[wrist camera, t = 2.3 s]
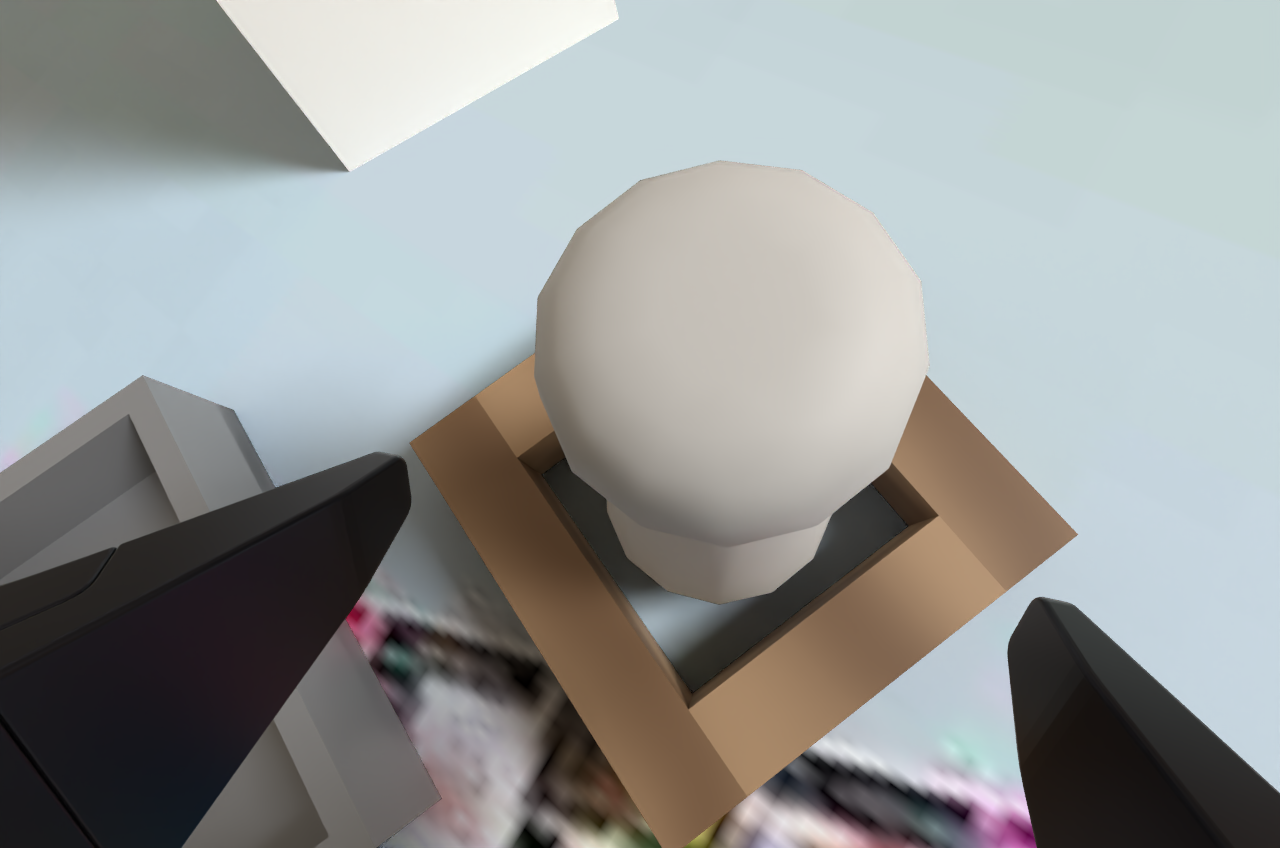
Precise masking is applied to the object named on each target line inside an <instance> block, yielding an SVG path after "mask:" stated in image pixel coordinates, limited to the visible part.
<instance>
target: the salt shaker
mask: <svg viewBox="0 0 1280 848" xmlns="http://www.w3.org/2000/svg"><path fill="white" fill-rule="evenodd" d="M929 366H930V364H929V354H928V344H927V334H926V324H925V314H924V304H923V294H922V284H921V280H920V279H919V277H918V276H917V274H916V273H915V272H914V270H913V269H912V267H911V266H910V265H909V263H908V262H907V260H906V259H905V257H904V256H903V255H902V253H901V252H900V250H899V249H898V247H897V246H896V245H895V243H894V242H893V240H892V239H891V237H890V236H889V235H888V233H887V232H886V230H885V229H884V228H883V226H882V225H881V223H880V222H879V220H878V219H877V218H876V216H875V215H874V213H873V212H871V211H869V210H868V209H866V208H864V207H863V206H861V205H859V204H858V203H856V202H854V201H853V200H851V199H849V198H848V197H846V196H844V195H843V194H841V193H839V192H838V191H836V190H834V189H833V188H831V187H829V186H828V185H826V184H824V183H823V182H821V181H819V180H818V179H816V178H814V177H813V176H811V175H809V174H808V173H806V172H804V171H803V170H796V169H788V168H779V167H771V166H762V165H754V164H745V163H737V162H728V161H716V162H712V163H708V164H704V165H700V166H696V167H692V168H688V169H684V170H680V171H676V172H672V173H668V174H664V175H660V176H656V177H652V178H648V179H644V180H640V181H639V182H638V183H636V184H635V185H634V186H632V187H631V188H630V189H628V190H627V191H626V192H625V193H623V194H622V195H621V196H619V197H618V198H617V199H615V200H614V201H613V202H611V203H610V204H609V205H608V206H606V207H605V208H604V209H602V210H601V211H600V212H598V213H597V214H596V215H595V216H593V217H592V218H591V219H589V220H588V221H587V222H585V223H584V224H583V225H582V226H580V227H579V228H578V229H577V230H576V232H575V233H574V235H573V237H572V239H571V240H570V242H569V244H568V245H567V247H566V249H565V251H564V252H563V254H562V256H561V258H560V259H559V261H558V263H557V265H556V266H555V268H554V270H553V272H552V273H551V275H550V277H549V279H548V280H547V282H546V284H545V285H544V287H543V289H542V291H541V292H540V294H539V296H538V301H537V323H536V345H535V366H534V378H535V381H536V385H537V388H538V392H539V395H540V398H541V401H542V403H543V405H544V408H545V410H546V412H547V415H548V417H549V419H550V422H551V424H552V426H553V429H554V431H555V433H556V436H557V438H558V440H559V443H560V445H561V447H562V450H563V452H564V454H565V457H566V459H567V461H568V464H569V466H570V468H571V471H572V472H573V473H574V474H576V475H577V476H578V477H579V478H581V479H582V480H583V481H584V482H586V483H587V484H588V485H589V486H591V487H592V488H593V489H594V490H596V491H597V492H598V493H599V494H601V495H602V496H603V497H604V498H606V499H607V513H608V515H609V518H610V520H611V522H612V525H613V527H614V529H615V532H616V534H617V536H618V539H619V541H620V543H621V546H622V548H623V550H624V553H625V555H626V557H627V558H628V559H629V560H630V561H631V562H633V563H634V564H635V565H636V566H637V567H639V568H640V569H641V570H642V571H644V572H645V573H646V574H647V575H648V576H650V577H651V578H652V579H653V580H655V581H656V582H657V583H658V584H659V585H661V586H662V587H663V588H664V589H666V590H667V591H668V592H672V593H676V594H680V595H684V596H688V597H692V598H696V599H700V600H703V601H707V602H711V603H715V604H719V605H720V604H724V603H728V602H733V601H737V600H742V599H746V598H750V597H755V596H759V595H763V594H768V593H772V592H773V591H775V590H776V589H777V588H778V587H779V586H781V585H782V584H783V583H784V582H786V581H787V580H788V579H789V578H790V577H792V576H793V575H794V574H795V573H796V572H798V571H799V570H800V569H801V568H803V567H804V566H805V565H806V564H807V563H809V562H810V561H811V560H812V559H813V558H814V556H815V553H816V551H817V548H818V546H819V544H820V541H821V539H822V537H823V534H824V532H825V529H826V527H827V525H828V522H829V520H830V518H831V515H832V514H833V513H834V512H835V511H836V510H838V509H839V508H840V507H841V506H843V505H844V504H845V503H846V502H848V501H849V500H850V499H851V498H853V497H854V496H855V495H856V494H858V493H859V492H860V491H861V490H863V489H864V488H865V487H866V486H868V485H869V484H870V483H871V482H873V481H874V480H875V479H876V478H878V477H879V476H880V475H881V474H883V473H884V472H885V471H886V470H888V469H889V467H890V465H891V462H892V460H893V457H894V454H895V452H896V449H897V447H898V444H899V442H900V439H901V437H902V434H903V432H904V429H905V427H906V424H907V422H908V419H909V417H910V414H911V412H912V409H913V407H914V404H915V402H916V399H917V397H918V394H919V392H920V389H921V387H922V384H923V382H924V379H925V376H926V374H927V371H928V369H929Z"/></svg>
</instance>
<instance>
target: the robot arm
mask: <svg viewBox="0 0 1280 848" xmlns="http://www.w3.org/2000/svg"><path fill="white" fill-rule="evenodd" d="M410 507H411V492H410V485H409V478H408V471H407V465H406V462H405V460H404V459H403V458H402V457H401V456H398V455H393V454H389V453H384V452H374V453H371V454H368V455H366V456H363V457H360V458H357V459H355V460H352V461H349V462H346V463H343V464H341V465H338V466H335V467H332V468H330V469H327V470H324V471H321V472H318V473H316V474H313V475H310V476H307V477H305V478H302V479H299V480H296V481H294V482H291V483H288V484H285V485H282V486H280V487H277V488H274V489H271V490H269V491H266V492H263V493H260V494H258V495H255V496H252V497H249V498H246V499H244V500H241V501H238V502H235V503H233V504H230V505H227V506H224V507H222V508H219V509H216V510H213V511H210V512H208V513H205V514H202V515H199V516H197V517H194V518H191V519H188V520H185V521H183V522H180V523H177V524H174V525H172V526H169V527H166V528H163V529H161V530H158V531H155V532H152V533H149V534H147V535H144V536H141V537H138V538H136V539H133V540H130V541H127V542H125V543H122V544H120V545H119V546H118V548H116V547H110V548H107V549H105V550H102V551H99V552H97V553H94V554H91V555H88V556H86V557H83V558H80V559H77V560H74V561H71V562H69V563H66V564H63V565H60V566H57V567H54V568H51V569H48V570H45V571H43V572H40V573H37V574H34V575H31V576H28V577H25V578H22V579H19V580H16V581H12V582H9V583H6V584H3V585H0V848H182V847H183V845H184V844H185V842H186V841H187V840H188V838H189V837H190V835H191V834H192V833H193V831H194V830H195V828H196V827H197V826H198V824H199V823H200V821H201V820H202V819H203V817H204V816H205V814H206V813H207V812H208V810H209V809H210V807H211V806H212V805H213V803H214V802H215V800H216V799H217V798H218V796H219V795H220V793H221V792H222V791H223V789H224V788H225V786H226V785H227V784H228V782H229V781H230V779H231V778H232V777H233V775H234V774H235V772H236V771H237V770H238V768H239V767H240V765H241V764H242V763H243V761H244V760H245V758H246V757H247V756H248V754H249V753H250V751H251V750H252V749H253V747H254V746H255V744H256V743H257V742H258V740H259V739H260V737H261V736H262V735H263V733H264V732H265V730H266V729H267V728H268V726H269V725H270V723H271V722H272V721H273V719H274V718H275V716H276V715H277V714H278V712H279V711H280V709H281V708H282V707H283V705H284V704H285V702H286V701H287V700H288V698H289V697H290V695H291V694H292V693H293V691H294V690H295V688H296V687H297V686H298V684H299V683H300V681H301V680H302V679H303V677H304V676H305V674H306V673H307V672H308V670H309V669H310V667H311V666H312V665H313V663H314V662H315V660H316V659H317V658H318V656H319V655H320V653H321V652H322V651H323V649H324V648H325V646H326V645H327V644H328V642H329V641H330V639H331V638H332V637H333V635H334V634H335V632H336V631H337V630H338V628H339V627H340V625H341V624H342V623H343V621H344V620H345V618H346V617H347V616H348V614H349V613H350V611H351V610H352V609H353V607H354V606H355V604H356V603H357V601H358V600H359V598H360V597H361V595H362V594H363V592H364V590H365V589H366V587H367V586H368V584H369V582H370V581H371V579H372V577H373V575H374V573H375V572H376V570H377V568H378V566H379V565H380V563H381V561H382V559H383V558H384V556H385V554H386V552H387V550H388V549H389V547H390V545H391V543H392V542H393V540H394V538H395V536H396V535H397V533H398V531H399V529H400V527H401V526H402V524H403V522H404V520H405V519H406V517H407V515H408V513H409V510H410ZM1007 654H1008V666H1009V675H1010V685H1011V695H1012V704H1013V714H1014V723H1015V733H1016V743H1017V752H1018V759H1019V766H1020V772H1021V777H1022V782H1023V788H1024V792H1025V797H1026V801H1027V806H1028V810H1029V815H1030V819H1031V824H1032V828H1033V833H1034V837H1035V842H1036V846H1037V848H1280V793H1279V792H1278V791H1277V790H1276V789H1275V788H1274V787H1273V786H1272V785H1270V784H1269V783H1268V782H1267V781H1266V780H1265V779H1264V778H1263V777H1262V776H1261V775H1260V774H1258V773H1257V772H1256V771H1255V770H1254V769H1253V768H1252V767H1251V766H1250V765H1249V764H1248V763H1246V762H1245V761H1244V760H1243V759H1242V758H1241V757H1240V756H1239V755H1238V754H1237V753H1236V752H1234V751H1233V750H1232V749H1231V748H1230V747H1229V746H1228V745H1227V744H1226V743H1225V742H1223V741H1222V740H1221V739H1220V738H1219V737H1218V736H1217V735H1216V734H1215V733H1214V732H1213V731H1211V730H1210V729H1209V728H1208V727H1207V726H1206V725H1205V724H1204V723H1203V722H1202V721H1201V720H1199V719H1198V718H1197V717H1196V716H1195V715H1194V714H1193V713H1192V712H1191V711H1190V710H1189V709H1187V708H1186V707H1185V706H1184V705H1183V704H1182V703H1181V702H1180V701H1179V700H1178V699H1177V698H1175V697H1174V696H1173V695H1172V694H1171V693H1170V692H1169V691H1168V690H1167V689H1166V688H1164V687H1163V686H1162V685H1161V684H1160V683H1159V682H1158V681H1157V680H1156V679H1155V678H1154V677H1152V676H1151V675H1150V674H1149V673H1148V672H1147V671H1146V670H1145V669H1144V668H1143V667H1142V666H1140V665H1139V664H1138V663H1137V662H1136V661H1135V660H1134V659H1133V658H1132V657H1131V656H1130V655H1128V654H1127V653H1126V652H1125V651H1124V650H1123V649H1122V648H1121V647H1120V646H1119V645H1118V644H1116V643H1115V642H1114V641H1113V640H1112V639H1111V638H1110V637H1109V636H1108V635H1107V634H1105V633H1104V632H1103V631H1102V630H1101V629H1100V628H1099V627H1098V626H1097V625H1096V624H1095V623H1093V622H1092V621H1091V620H1090V619H1089V618H1088V617H1087V616H1086V615H1085V614H1084V613H1083V612H1081V611H1080V610H1079V609H1078V608H1077V607H1076V606H1074V605H1073V604H1071V603H1068V602H1064V601H1059V600H1055V599H1050V598H1045V597H1038V598H1035V599H1034V600H1033V601H1032V602H1031V603H1030V604H1029V606H1028V608H1027V609H1026V611H1025V613H1024V615H1023V616H1022V618H1021V620H1020V622H1019V623H1018V625H1017V627H1016V629H1015V630H1014V632H1013V634H1012V636H1011V638H1010V641H1009V644H1008V653H1007Z"/></svg>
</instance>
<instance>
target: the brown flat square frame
mask: <svg viewBox="0 0 1280 848" xmlns="http://www.w3.org/2000/svg"><path fill="white" fill-rule="evenodd" d="M534 366H535V353H534V354H533V355H531V356H530V357H529V358H527V359H526V360H524V361H523V362H522V363H520V364H519V365H517V366H516V367H515V368H513V369H512V370H510V371H509V372H508V373H506V374H505V375H504V376H502V377H501V378H499V379H498V380H497V381H495V382H494V383H492V384H491V385H490V386H488V387H487V388H485V389H484V390H483V391H481V392H480V393H478V394H477V395H476V396H474V397H473V398H471V399H470V400H469V401H467V402H466V403H464V404H463V405H462V406H460V407H459V408H457V409H456V410H455V411H453V412H452V413H450V414H449V415H448V416H446V417H445V418H443V419H442V420H441V421H439V422H438V423H436V424H435V425H434V426H432V427H431V428H429V429H428V430H427V431H425V432H424V433H422V434H421V435H420V436H418V437H417V438H416V439H414V440H413V441H411V442H410V445H411V446H412V448H413V450H414V451H415V453H416V454H417V456H418V458H419V459H420V461H421V462H422V464H423V466H424V467H425V469H426V470H427V472H428V474H429V475H430V477H431V478H432V480H433V482H434V483H435V485H436V486H437V488H438V490H439V491H440V493H441V494H442V496H443V498H444V499H445V501H446V502H447V504H448V506H449V507H450V509H451V510H452V512H453V514H454V515H455V517H456V518H457V520H458V522H459V523H460V525H461V526H462V528H463V530H464V531H465V533H466V534H467V536H468V538H469V539H470V541H471V542H472V544H473V546H474V547H475V549H476V550H477V552H478V554H479V555H480V557H481V558H482V560H483V562H484V563H485V565H486V566H487V568H488V570H489V571H490V573H491V574H492V576H493V578H494V579H495V581H496V582H497V584H498V586H499V587H500V589H501V590H502V592H503V594H504V595H505V597H506V598H507V600H508V602H509V603H510V605H511V606H512V608H513V610H514V611H515V613H516V614H517V616H518V618H519V619H520V621H521V622H522V624H523V626H524V627H525V629H526V630H527V632H528V634H529V635H530V637H531V638H532V640H533V642H534V643H535V645H536V646H537V648H538V650H539V651H540V653H541V654H542V656H543V658H544V659H545V661H546V662H547V664H548V666H549V667H550V669H551V670H552V672H553V674H554V675H555V677H556V678H557V680H558V682H559V683H560V685H561V686H562V688H563V690H564V691H565V693H566V694H567V696H568V698H569V699H570V701H571V702H572V704H573V706H574V707H575V709H576V710H577V712H578V714H579V715H580V717H581V718H582V720H583V722H584V723H585V725H586V726H587V728H588V730H589V731H590V733H591V734H592V736H593V738H594V739H595V741H596V742H597V744H598V746H599V747H600V749H601V750H602V752H603V754H604V755H605V757H606V758H607V760H608V762H609V763H610V765H611V766H612V768H613V770H614V771H615V773H616V774H617V776H618V778H619V779H620V781H621V782H622V784H623V786H624V787H625V789H626V791H627V792H628V794H629V795H630V797H631V799H632V800H633V802H634V803H635V805H636V807H637V808H638V810H639V811H640V813H641V815H642V816H643V818H644V819H645V821H646V823H647V824H648V826H649V827H650V829H651V831H652V832H653V834H654V835H655V837H656V839H657V840H658V842H659V843H660V845H661V847H662V848H683V847H685V846H686V845H687V844H688V843H690V842H691V841H692V840H693V839H695V838H696V837H697V836H698V835H700V834H701V833H702V832H703V831H705V830H706V829H707V828H708V827H710V826H711V825H712V824H714V823H715V822H716V821H717V820H719V819H720V818H721V817H722V816H724V815H725V814H726V813H727V812H729V811H730V810H731V809H732V808H734V807H735V806H736V805H738V804H739V803H740V802H741V801H743V800H744V799H745V798H746V797H748V796H749V795H750V794H751V793H753V792H754V791H755V790H756V789H758V788H759V787H760V786H761V785H763V784H764V783H765V782H767V781H768V780H769V779H770V778H772V777H773V776H774V775H775V774H777V773H778V772H779V771H780V770H782V769H783V768H784V767H785V766H787V765H788V764H789V763H791V762H792V761H793V760H794V759H796V758H797V757H798V756H799V755H801V754H802V753H803V752H804V751H806V750H807V749H808V748H809V747H811V746H812V745H813V744H814V743H816V742H817V741H818V740H820V739H821V738H822V737H823V736H825V735H826V734H827V733H828V732H830V731H831V730H832V729H833V728H835V727H836V726H837V725H838V724H840V723H841V722H842V721H844V720H845V719H846V718H847V717H849V716H850V715H851V714H852V713H854V712H855V711H856V710H857V709H859V708H860V707H861V706H862V705H864V704H865V703H866V702H867V701H869V700H870V699H871V698H873V697H874V696H875V695H876V694H878V693H879V692H880V691H881V690H883V689H884V688H885V687H886V686H888V685H889V684H890V683H891V682H893V681H894V680H895V679H897V678H898V677H899V676H900V675H902V674H903V673H904V672H905V671H907V670H908V669H909V668H910V667H912V666H913V665H914V664H915V663H917V662H918V661H919V660H920V659H922V658H923V657H924V656H926V655H927V654H928V653H929V652H931V651H932V650H933V649H934V648H936V647H937V646H938V645H939V644H941V643H942V642H943V641H944V640H946V639H947V638H948V637H949V636H951V635H952V634H953V633H955V632H956V631H957V630H958V629H960V628H961V627H962V626H963V625H965V624H966V623H967V622H968V621H970V620H971V619H972V618H973V617H975V616H976V615H977V614H979V613H980V612H981V611H982V610H984V609H985V608H986V607H987V606H989V605H990V604H991V603H992V602H994V601H995V600H996V599H997V598H999V597H1000V596H1001V595H1002V594H1004V593H1005V592H1006V591H1008V590H1009V589H1010V588H1011V587H1013V586H1014V585H1015V584H1016V583H1018V582H1019V581H1020V580H1021V579H1023V578H1024V577H1025V576H1026V575H1028V574H1029V573H1030V572H1032V571H1033V570H1034V569H1035V568H1037V567H1038V566H1039V565H1040V564H1042V563H1043V562H1044V561H1045V560H1047V559H1048V558H1049V557H1050V556H1052V555H1053V554H1054V553H1055V552H1057V551H1058V550H1059V549H1061V548H1062V547H1063V546H1064V545H1066V544H1067V543H1068V542H1069V541H1071V540H1072V539H1073V538H1074V537H1076V536H1077V535H1078V534H1077V533H1076V532H1075V531H1074V530H1073V529H1072V528H1071V527H1070V526H1069V525H1068V523H1067V522H1066V521H1065V520H1064V519H1063V518H1062V517H1061V516H1060V515H1059V514H1058V513H1057V512H1056V511H1055V510H1054V509H1053V508H1052V507H1051V506H1050V505H1049V504H1048V502H1047V501H1046V500H1045V499H1044V498H1043V497H1042V496H1041V495H1040V494H1039V493H1038V492H1037V491H1036V490H1035V489H1034V488H1033V487H1032V486H1031V485H1030V484H1029V483H1028V482H1027V480H1026V479H1025V478H1024V477H1023V476H1022V475H1021V474H1020V473H1019V472H1018V471H1017V470H1016V469H1015V468H1014V467H1013V466H1012V465H1011V464H1010V463H1009V462H1008V461H1007V459H1006V458H1005V457H1004V456H1003V455H1002V454H1001V453H1000V452H999V451H998V450H997V449H996V448H995V447H994V446H993V445H992V444H991V443H990V442H989V441H988V440H987V439H986V437H985V436H984V435H983V434H982V433H981V432H980V431H979V430H978V429H977V428H976V427H975V426H974V425H973V424H972V423H971V422H970V421H969V420H968V419H967V418H966V416H965V415H964V414H963V413H962V412H961V411H960V410H959V409H958V408H957V407H956V406H955V405H954V404H953V403H952V402H951V401H950V400H949V399H948V398H947V397H946V396H945V394H944V393H943V392H942V391H941V390H940V389H939V388H938V387H937V386H936V385H935V384H934V383H933V382H932V381H931V380H930V379H929V378H928V377H927V376H925V379H924V382H923V384H922V387H921V389H920V392H919V394H918V397H917V399H916V402H915V404H914V407H913V409H912V412H911V414H910V417H909V419H908V422H907V424H906V427H905V429H904V432H903V434H902V437H901V439H900V442H899V444H898V447H897V449H896V452H895V454H894V457H893V460H892V462H891V465H890V467H889V469H888V470H886V471H885V472H884V473H883V474H881V475H880V476H879V477H878V478H876V479H875V480H874V481H873V482H871V483H872V485H873V486H874V487H875V488H876V489H877V490H878V492H879V493H880V494H881V495H882V496H883V497H884V498H885V500H886V501H887V502H888V503H889V504H890V505H891V507H892V508H893V509H894V510H895V511H896V512H897V513H898V515H899V516H900V517H901V518H902V519H903V520H904V522H905V523H906V524H907V525H908V527H907V528H906V529H904V530H903V531H902V532H900V533H899V534H898V535H897V536H895V537H894V538H893V539H891V540H890V541H889V542H888V543H886V544H885V545H884V546H882V547H881V548H880V549H879V550H877V551H876V552H875V553H873V554H872V555H871V556H869V557H868V558H867V559H866V560H864V561H863V562H862V563H860V564H859V565H858V566H857V567H855V568H854V569H853V570H851V571H850V572H849V573H848V574H846V575H845V576H844V577H842V578H841V579H840V580H838V581H837V582H836V583H835V584H833V585H832V586H831V587H829V588H828V589H827V590H826V591H824V592H823V593H822V594H820V595H819V596H818V597H816V598H815V599H814V600H813V601H811V602H810V603H809V604H807V605H806V606H805V607H804V608H802V609H801V610H800V611H798V612H797V613H796V614H795V615H793V616H792V617H791V618H789V619H788V620H787V621H785V622H784V623H783V624H782V625H780V626H779V627H778V628H776V629H775V630H774V631H773V632H771V633H770V634H769V635H767V636H766V637H765V638H763V639H762V640H761V641H760V642H758V643H757V644H756V645H754V646H753V647H752V648H751V649H749V650H748V651H747V652H745V653H744V654H743V655H742V656H740V657H739V658H738V659H736V660H735V661H734V662H732V663H731V664H730V665H729V666H727V667H726V668H725V669H723V670H722V671H721V672H720V673H718V674H717V675H716V676H714V677H713V678H712V679H711V680H709V681H708V682H707V683H705V684H704V685H703V686H701V687H700V688H699V689H698V690H696V691H695V692H694V693H691V692H690V690H689V689H688V687H687V686H686V684H685V683H684V681H683V680H682V678H681V677H680V675H679V674H678V673H677V671H676V670H675V668H674V667H673V665H672V664H671V662H670V661H669V659H668V658H667V657H666V655H665V654H664V652H663V651H662V649H661V648H660V646H659V645H658V643H657V642H656V641H655V639H654V638H653V636H652V635H651V633H650V632H649V630H648V629H647V627H646V626H645V625H644V623H643V622H642V620H641V619H640V617H639V616H638V614H637V613H636V611H635V610H634V609H633V607H632V606H631V604H630V603H629V601H628V600H627V598H626V597H625V595H624V594H623V593H622V591H621V590H620V588H619V587H618V585H617V584H616V582H615V581H614V579H613V578H612V577H611V575H610V574H609V572H608V571H607V569H606V568H605V566H604V565H603V563H602V562H601V561H600V559H599V558H598V556H597V555H596V553H595V552H594V550H593V549H592V547H591V546H590V545H589V543H588V542H587V540H586V539H585V537H584V536H583V534H582V533H581V531H580V530H579V529H578V527H577V526H576V524H575V523H574V521H573V520H572V518H571V517H570V515H569V514H568V513H567V511H566V510H565V508H564V507H563V505H562V504H561V502H560V501H559V499H558V498H557V496H556V495H555V494H554V492H553V491H552V489H551V488H550V486H549V485H548V483H547V482H546V480H545V479H544V478H543V476H542V474H543V473H544V472H546V471H547V470H549V469H550V468H551V467H553V466H554V465H555V464H557V463H558V462H560V461H561V460H562V459H564V458H565V454H564V452H563V450H562V447H561V445H560V443H559V440H558V438H557V436H556V433H555V431H554V429H553V426H552V424H551V422H550V419H549V417H548V415H547V412H546V410H545V408H544V405H543V403H542V401H541V398H540V395H539V392H538V388H537V385H536V381H535V378H534Z"/></svg>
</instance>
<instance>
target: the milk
mask: <svg viewBox="0 0 1280 848" xmlns="http://www.w3.org/2000/svg"><path fill="white" fill-rule="evenodd" d="M216 1H217V2H218V3H219V5H220V6H221V7H222V9H223V10H224V11H225V12H226V14H227V15H228V16H229V18H230V19H231V20H232V21H233V23H234V24H235V25H236V27H237V28H238V29H239V30H240V32H241V33H242V34H243V36H244V37H245V38H246V39H247V41H248V42H249V43H250V45H251V46H252V47H253V48H254V50H255V51H256V52H257V54H258V55H259V56H260V57H261V59H262V60H263V61H264V63H265V64H266V65H267V66H268V68H269V69H270V70H271V72H272V73H273V74H274V75H275V77H276V78H277V79H278V81H279V82H280V83H281V84H282V86H283V87H284V88H285V89H286V91H287V92H288V93H289V95H290V96H291V97H292V98H293V100H294V101H295V102H296V104H297V105H298V106H299V107H300V109H301V110H302V111H303V113H304V114H305V115H306V116H307V118H308V119H309V120H310V122H311V123H312V124H313V125H314V127H315V128H316V129H317V131H318V132H319V133H320V134H321V136H322V137H323V138H324V140H325V141H326V142H327V143H328V145H329V146H330V147H331V149H332V150H333V151H334V152H335V154H336V155H337V156H338V158H339V159H340V160H341V161H342V163H343V164H344V165H345V167H346V168H347V169H348V170H349V172H351V171H352V170H354V169H356V168H358V167H359V166H361V165H363V164H365V163H366V162H368V161H370V160H372V159H373V158H375V157H377V156H379V155H380V154H382V153H384V152H386V151H388V150H389V149H391V148H393V147H395V146H396V145H398V144H400V143H402V142H403V141H405V140H407V139H409V138H410V137H412V136H414V135H416V134H417V133H419V132H421V131H423V130H424V129H426V128H428V127H430V126H431V125H433V124H435V123H437V122H438V121H440V120H442V119H444V118H446V117H447V116H449V115H451V114H453V113H454V112H456V111H458V110H460V109H461V108H463V107H465V106H467V105H468V104H470V103H472V102H474V101H475V100H477V99H479V98H481V97H482V96H484V95H486V94H488V93H489V92H491V91H493V90H495V89H496V88H498V87H500V86H502V85H504V84H505V83H507V82H509V81H511V80H512V79H514V78H516V77H518V76H519V75H521V74H523V73H525V72H526V71H528V70H530V69H532V68H533V67H535V66H537V65H539V64H540V63H542V62H544V61H546V60H547V59H549V58H551V57H553V56H554V55H556V54H558V53H560V52H562V51H563V50H565V49H567V48H569V47H570V46H572V45H574V44H576V43H577V42H579V41H581V40H583V39H584V38H586V37H588V36H590V35H591V34H593V33H595V32H597V31H598V30H600V29H602V28H604V27H605V26H607V25H609V24H611V23H612V22H614V21H616V20H618V19H619V17H618V13H617V8H616V3H615V0H216Z"/></svg>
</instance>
